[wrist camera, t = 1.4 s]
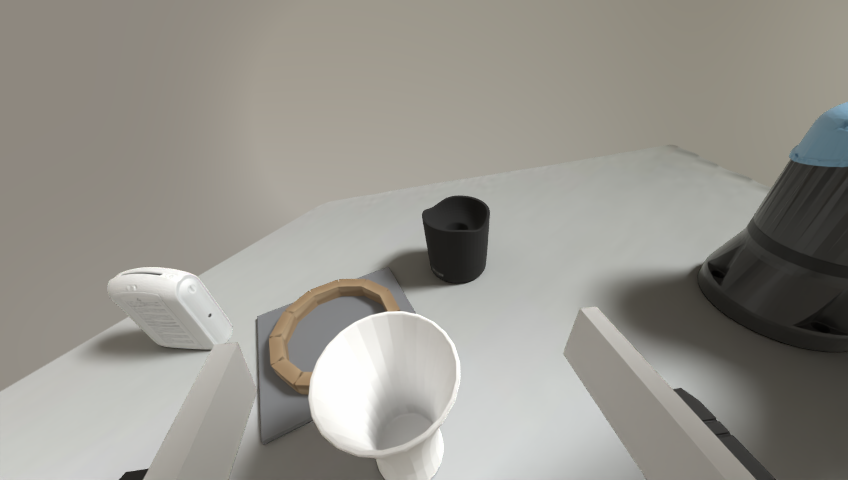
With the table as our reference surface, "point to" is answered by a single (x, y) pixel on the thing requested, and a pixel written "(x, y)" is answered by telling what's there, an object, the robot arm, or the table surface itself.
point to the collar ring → (303, 308)
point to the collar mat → (310, 351)
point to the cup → (387, 392)
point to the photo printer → (171, 307)
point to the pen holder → (457, 238)
